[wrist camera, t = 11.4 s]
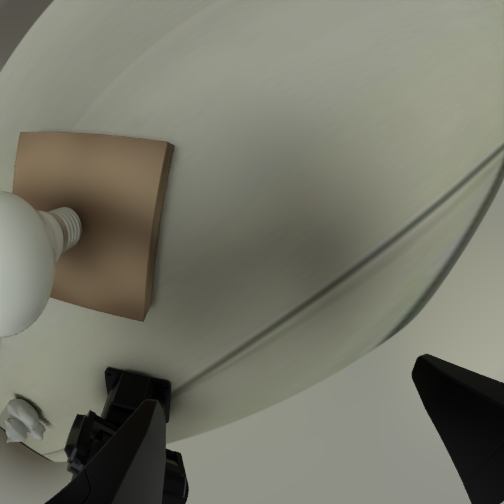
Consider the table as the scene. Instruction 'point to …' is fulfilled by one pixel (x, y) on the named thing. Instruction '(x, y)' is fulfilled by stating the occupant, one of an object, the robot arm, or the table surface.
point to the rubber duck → (22, 421)
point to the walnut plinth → (100, 212)
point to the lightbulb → (30, 258)
